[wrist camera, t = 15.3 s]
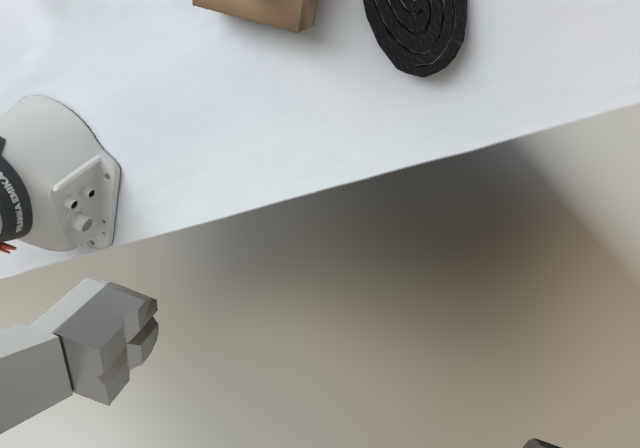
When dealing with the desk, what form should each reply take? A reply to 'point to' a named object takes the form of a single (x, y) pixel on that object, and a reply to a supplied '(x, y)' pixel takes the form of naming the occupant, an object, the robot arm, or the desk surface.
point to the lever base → (267, 11)
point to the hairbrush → (415, 41)
